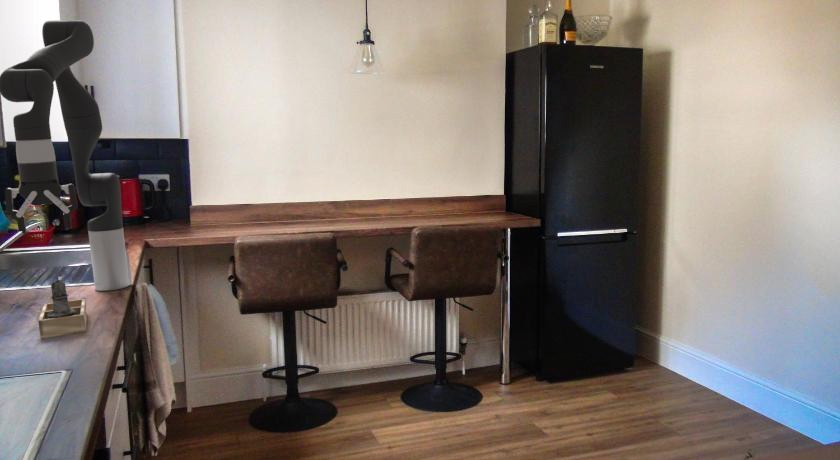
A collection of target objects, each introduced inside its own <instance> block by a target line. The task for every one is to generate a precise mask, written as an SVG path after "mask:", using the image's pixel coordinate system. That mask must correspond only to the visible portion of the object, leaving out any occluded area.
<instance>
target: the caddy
mask: <svg viewBox="0 0 840 460" xmlns="http://www.w3.org/2000/svg"><path fill="white" fill-rule="evenodd" d="M68 304H69V307H70V308H71V309H75V310H76V312H75V315H73V316H66V317H59V318H51V319H50V317H49V316H48V314H49V313H51V312H52V311H53V302H47V303H44V304H43V306H42V308H41V312H40V315H39V318H38V329H39V337H40V339H48V338H52V337H60V336H68V335H72V334H73V335H74V333H75V334H81V333H86V331H87V318H88V312H87V311H88V310H87V303H86V298H80V299H72V300H71V299H70V300H68Z"/></svg>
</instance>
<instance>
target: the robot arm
mask: <svg viewBox="0 0 840 460" xmlns="http://www.w3.org/2000/svg"><path fill="white" fill-rule="evenodd" d="M41 31H42V32H41V34H42V41H43V45H44V46H43V47H41V48H39V49H38V50H36V51H35V52H33V53H32V54H31V55H30V56H29V57H28V58H27V59H26V60H24V61H21V62H19V63H17V64H14V65H12V66H9V67H8V68H6V69H5V70H4V71H3V72H2V73H0V95H1V96H2V97H3V98H4V99H5V100H7V101H8V102H12V103H33V105H32V107H31V108H30V110H29V111H26V112H23V113H22V112H21V113H17V114H15V116H14V117H13V118H12V119H13V120H12V122H13V123H12V124H13V130H14V138H15V152H16V153H15V155H16V162H17V168H18V175H19V176H18V177H19V181H20V183H19V184H20V186H19V188H11V187H7V188H5V190H4V198H5V199H4V200H5V210H6V215H8V216H11V217H15V218H16V223H17V228H18V231H19V233H20V232H21V233H22V235H26V234H27V225H26V218H25V217H26V216H24V214H25V212H27V210H28V208H29V207H30V205H32V206H34V207H39V206H42V205H44V206H50V205H52V204H54V205H55V206H57V207H58V208H59V209H60V210H61V211H62V212H63V214H62V217H63V224H64V225H63V226H64V230H65V231H68V230H69V228H71V227H72V220H71V219H72V218H71V213H72V212H73V211H77V210H78V208H79V204H78V200H79V202H80V203H81V205H83V206H84V207H102V206H105V207H106V206H107V208H106V211H105V212H104V213H102V214H101V215H99V216H96V217H94V218H91V219H89V220H88V221H87V232H88V233H87V234H88V241H89V247H90V248H89V249H90V256H91V266H92V275H93V283H94V290H96V291H99V292H104V291H106V292H107V291H115V290H121V289H125V288H127V287H128V288H129V286H130V285H132V284H133V283H132V274H131V264H130V254H129V252H127V250H126V243H125V242H126V241H125V234H124V233H125V232H124V223H123V222H124V221H123V209H122V191H121V189H122V187H121V183H120V178H119V177H118V175H117V174H116V173H114V172H103V173H101V172H100V173H90V168H89V166H90V165H89V163H90V159H91V157H92V153H93V151H94V149H95V147H96V145H97V143H98V141H99V139H100V136H101V134H102V131H103V124H102V123H103V122H102V117H101V112H100V108H99V107H100V106H99V105H98V102H97V101H96V99H95V97H93V95H91V93H90V92H89V91H88V90H87V89H86V87H84V85H82V83H81V82H80V81H79V79H77V78H76V76H75V75H74V73H73V71H72V70H71V66H73V65H74V64H76V63H78V62H79V61H81V60H82V59H84V58H86V57H88V56H89V55H90V54H91V53H92V52H93V50H94V46H95V40H94V34H93V30H92V28H91V26H90V25H89V24H88V23H87V22H85V21H83V20H78V19H76V20H75V19H73V20H72V19H69V20H67V19H65V20H62V19H61V20H60V19H59V20H58V19H57V20H56V19H55V20H54V19H53V20H47V21H45V22H44V23H43V24H42V29H41ZM54 83H55V85H54ZM55 86H56V91H57V94H58V95H57V96H58V100H59V105H60V110H61V111H60V112H61V116H62V120H63V125H64V129H65V132H66V136H67V141H68V144H69V148H70V153H71V159H72V165H73V173H74V179H75V184H74V183H68V184H63V185H61V184H60V183H59V176H58V169H57V161H56V154H55V148H54V145H53V141H52V140H53V139H52V134H51V133H52V132H51V126H50V120H51V119H50V116H51V107H52V102H53V98H54V88H55ZM75 187H76V189H75ZM62 191H64V193H65V194H67V195H69V198H70V205H69V206H67V204H65V203H64V202H63V200H61V199H60V198H59V194H60V193H61V192H62ZM17 194H19V195H20V197H21V196H22V197H23V199H25V201H24V202H23V204H22V205H21V207H20V208H19V209H18V210H16V209H14V199H16V197H17ZM76 194H77V195H76ZM77 196H78V199H77Z"/></svg>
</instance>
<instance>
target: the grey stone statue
mask: <svg viewBox="0 0 840 460" xmlns="http://www.w3.org/2000/svg"><path fill="white" fill-rule="evenodd" d="M50 290H51V295H52V296H51V297H50V299H51V300H52V303H53V311H52V312H51V313H49V314H48V316H49V317H50V319H51V318H59V317H66V316H73V315H75V312H76V310H75V309H71V308H70V307H69V304H68V301H69V300H68V298H69V294H67V288H66V283H65V282H64V281H63V280H60V278H59V277H58V276H55V280H54V281H53V282H51V284H50Z"/></svg>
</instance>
